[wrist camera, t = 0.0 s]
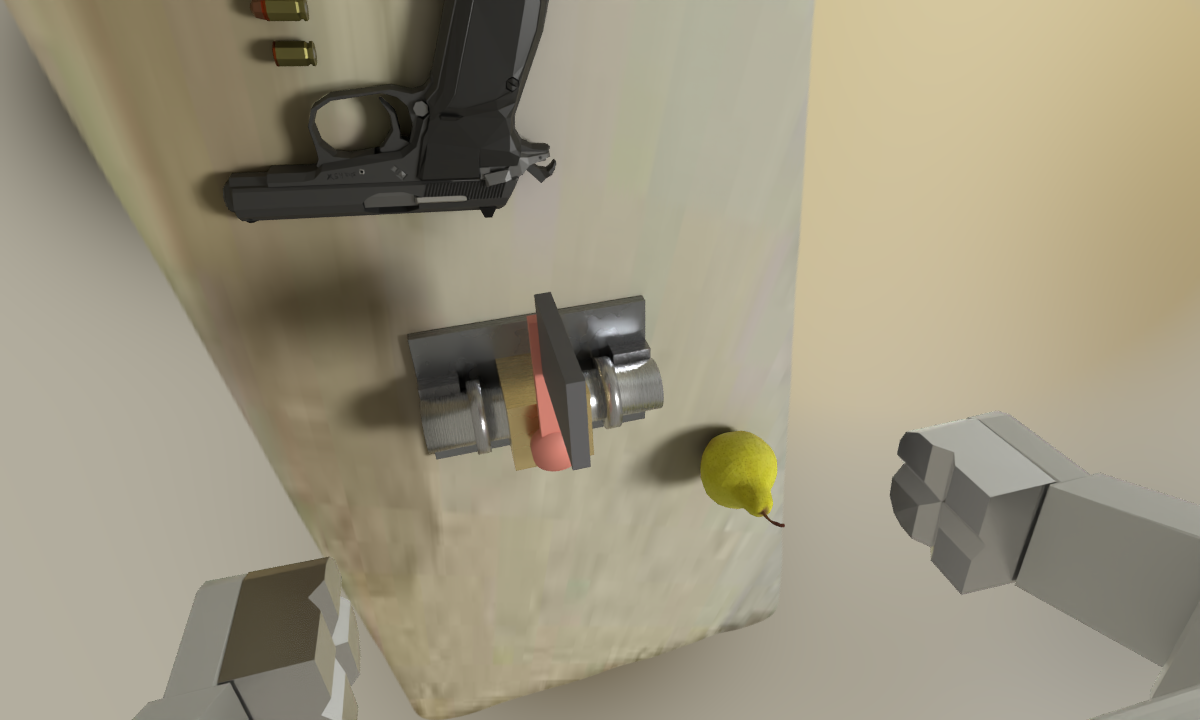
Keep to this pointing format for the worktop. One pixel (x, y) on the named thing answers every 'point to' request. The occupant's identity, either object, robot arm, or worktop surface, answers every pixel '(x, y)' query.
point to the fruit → (740, 472)
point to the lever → (557, 392)
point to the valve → (529, 378)
